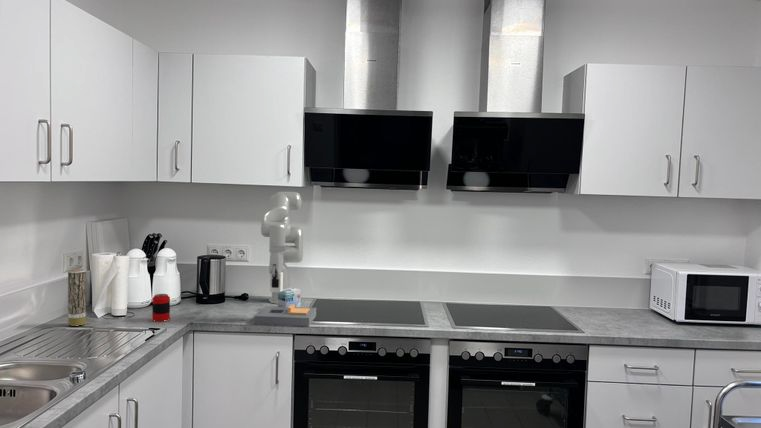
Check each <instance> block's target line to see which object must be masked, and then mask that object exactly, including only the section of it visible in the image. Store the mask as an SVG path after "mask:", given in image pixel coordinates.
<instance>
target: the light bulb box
mask: <svg viewBox="0 0 761 428" xmlns="http://www.w3.org/2000/svg"><path fill="white" fill-rule="evenodd" d="M301 292H302V290H301V288H295V287H289V289H283V290H282V291H281V292H278V304H277V306H279V307H289V306H290V305H291V304H294V307H301V303H302V302H301V301H302V300H301V298H302V297H301V296H302V293H301Z"/></svg>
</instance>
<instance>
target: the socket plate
mask: <svg viewBox="0 0 761 428" xmlns="http://www.w3.org/2000/svg"><path fill="white" fill-rule="evenodd" d="M294 308H306V307H304V306H300V307H294ZM307 308H308V309H310V310H309V312H308V313H307V314H306V315H302V314H288V307H279V306H278V305H276V306H275V305H265V306H264V307H263V308H261V309H260V310H259V311H258V312H256V313H255V315H253V325H258V326H259V325H261V326H262V325H267V326H286V327H287V326H288V327H289V326H290V327H292V326H293V327H310V326H311V324H312V323H313V321H314V320H315V318H316V316H317V307H307Z"/></svg>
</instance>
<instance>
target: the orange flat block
mask: <svg viewBox="0 0 761 428" xmlns="http://www.w3.org/2000/svg"><path fill="white" fill-rule="evenodd" d="M308 308H309V307H305V308H294V304H291V305H290V306H289V307H288V314H302V315H306V314H307V313H308V312H309V310H310V309H308Z"/></svg>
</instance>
